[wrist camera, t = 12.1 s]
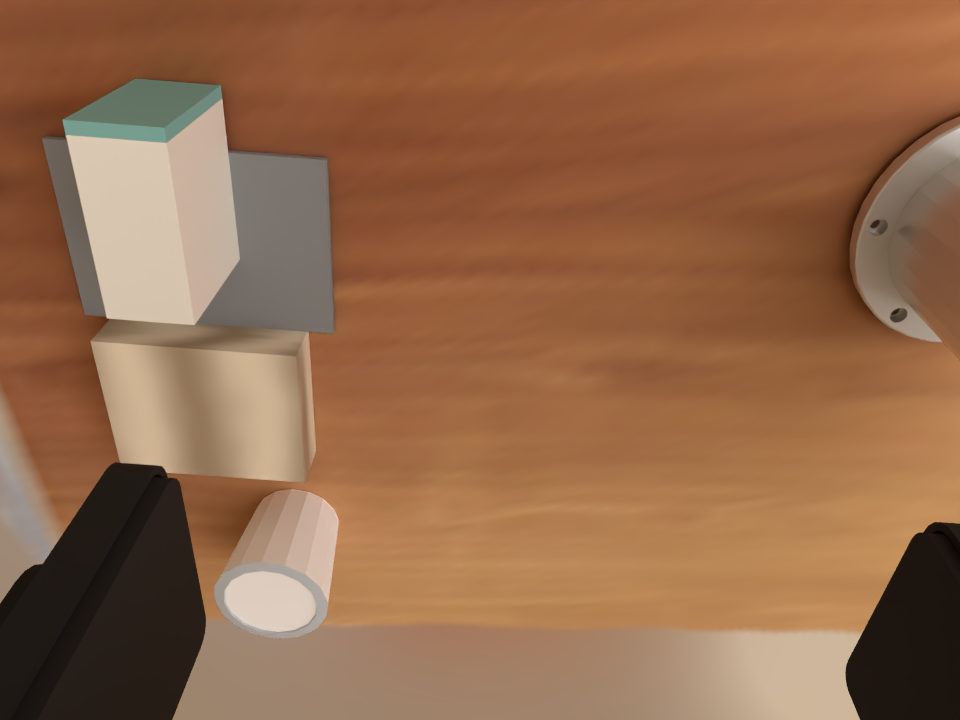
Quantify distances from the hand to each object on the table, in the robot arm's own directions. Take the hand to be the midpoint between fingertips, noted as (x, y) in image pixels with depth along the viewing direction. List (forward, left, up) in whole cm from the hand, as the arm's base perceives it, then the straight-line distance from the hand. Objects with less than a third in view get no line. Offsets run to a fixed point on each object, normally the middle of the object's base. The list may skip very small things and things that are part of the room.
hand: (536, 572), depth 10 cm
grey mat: (+16, +10, -30) cm, 36 cm away
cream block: (+16, +11, -26) cm, 33 cm away
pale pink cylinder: (+12, +30, -31) cm, 45 cm away
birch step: (+16, +20, -30) cm, 39 cm away
